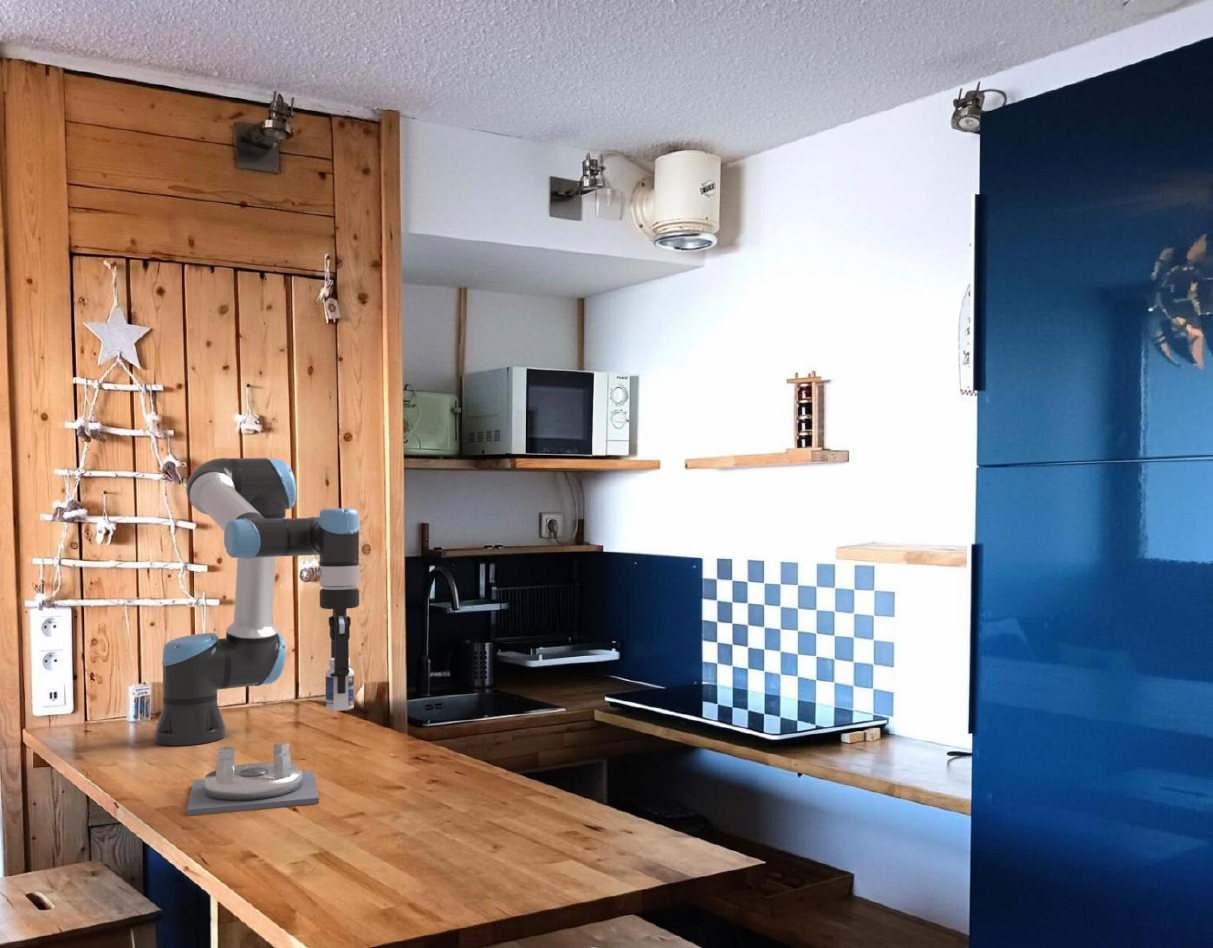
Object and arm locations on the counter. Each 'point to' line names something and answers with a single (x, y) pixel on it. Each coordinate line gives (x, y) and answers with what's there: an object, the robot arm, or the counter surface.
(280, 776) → the grey shallow round piece
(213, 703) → the robot arm
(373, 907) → the counter surface
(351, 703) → the pill bottle
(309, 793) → the grey square plate
